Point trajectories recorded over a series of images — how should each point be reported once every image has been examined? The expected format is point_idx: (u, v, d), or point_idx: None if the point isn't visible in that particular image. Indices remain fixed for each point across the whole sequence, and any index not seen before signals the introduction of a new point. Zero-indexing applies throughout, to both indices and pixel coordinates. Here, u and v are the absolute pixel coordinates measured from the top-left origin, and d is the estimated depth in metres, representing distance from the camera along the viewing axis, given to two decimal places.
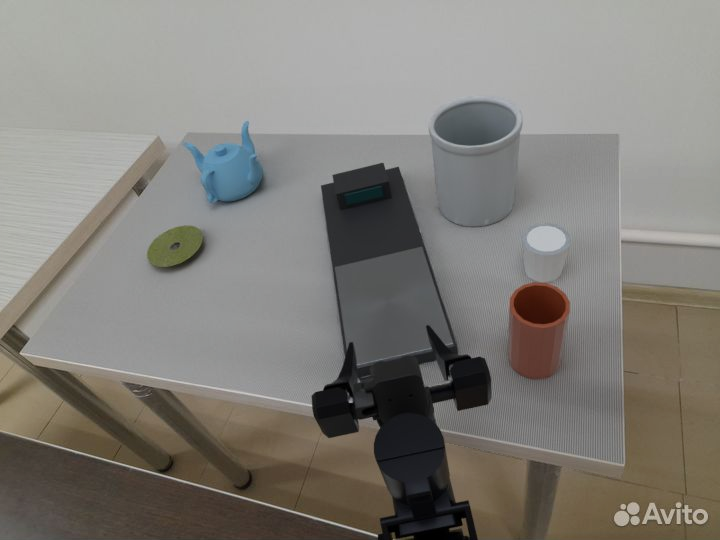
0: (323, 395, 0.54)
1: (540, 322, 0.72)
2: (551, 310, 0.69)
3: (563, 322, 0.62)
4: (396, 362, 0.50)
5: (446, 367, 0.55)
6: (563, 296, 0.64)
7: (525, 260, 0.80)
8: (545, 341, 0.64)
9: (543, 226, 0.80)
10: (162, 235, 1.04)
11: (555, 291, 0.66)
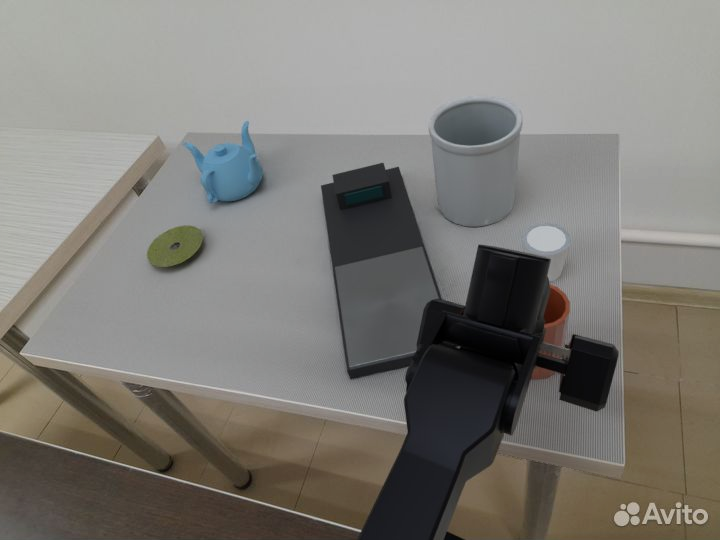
0: (443, 300, 0.55)
1: None
2: (551, 310, 0.69)
3: (563, 322, 0.62)
4: None
5: (571, 346, 0.51)
6: (563, 296, 0.64)
7: None
8: (545, 341, 0.64)
9: (543, 226, 0.80)
10: (162, 235, 1.04)
11: (555, 291, 0.66)
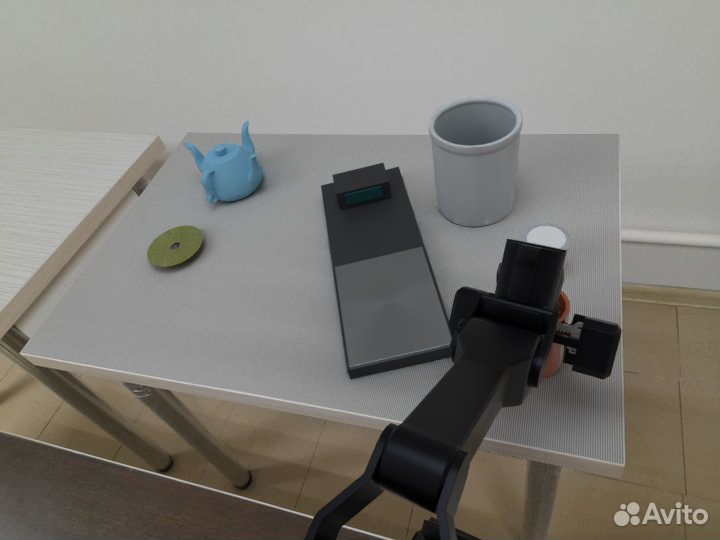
0: (470, 288, 0.65)
1: None
2: None
3: (563, 322, 0.62)
4: None
5: (573, 324, 0.60)
6: (563, 296, 0.64)
7: None
8: None
9: (543, 226, 0.80)
10: (162, 235, 1.04)
11: None
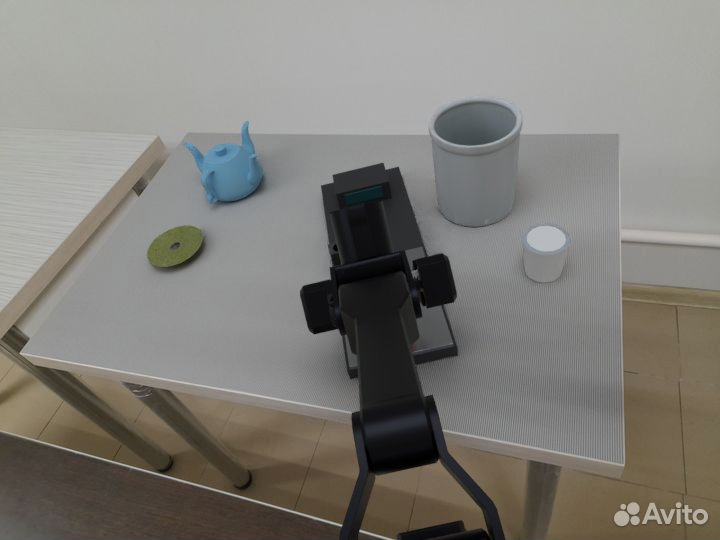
0: None
1: None
2: None
3: None
4: None
5: (415, 269, 0.66)
6: None
7: (525, 260, 0.80)
8: None
9: (543, 226, 0.80)
10: (162, 235, 1.04)
11: None
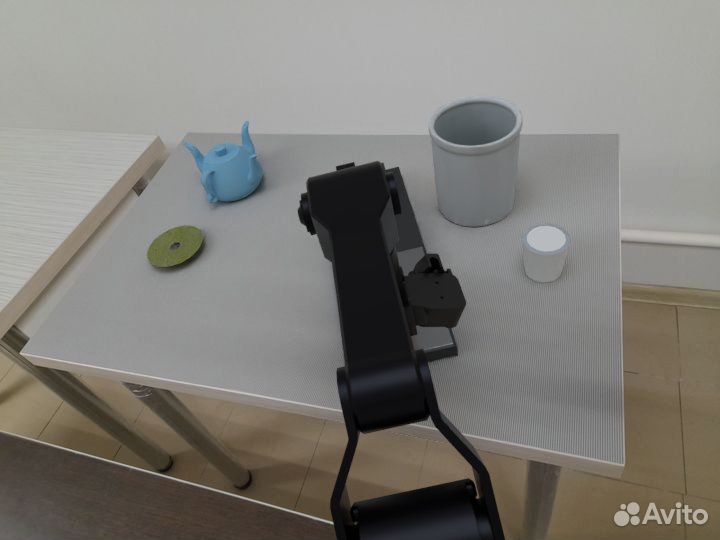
0: None
1: None
2: None
3: None
4: None
5: None
6: None
7: (525, 260, 0.80)
8: None
9: (543, 226, 0.80)
10: (162, 235, 1.04)
11: None
